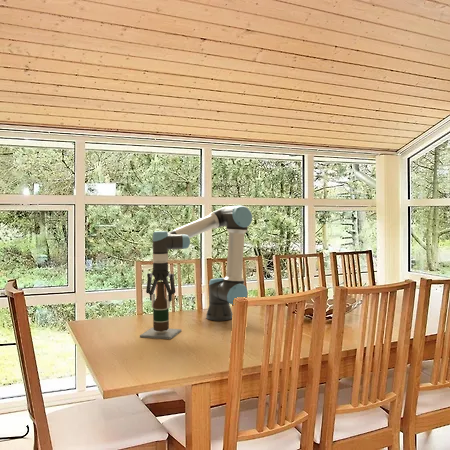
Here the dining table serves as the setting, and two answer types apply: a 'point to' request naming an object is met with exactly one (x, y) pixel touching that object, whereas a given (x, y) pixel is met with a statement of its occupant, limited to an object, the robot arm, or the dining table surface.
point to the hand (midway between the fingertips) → (160, 307)
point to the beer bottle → (160, 310)
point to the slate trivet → (160, 334)
